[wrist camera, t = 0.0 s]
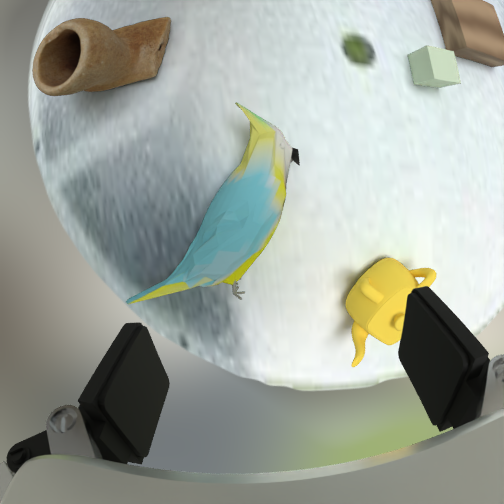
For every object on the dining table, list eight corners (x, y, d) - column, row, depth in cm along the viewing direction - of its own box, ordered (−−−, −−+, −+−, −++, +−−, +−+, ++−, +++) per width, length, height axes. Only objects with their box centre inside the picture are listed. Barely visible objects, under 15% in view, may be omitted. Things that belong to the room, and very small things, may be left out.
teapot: (403, 321, 46) (426, 356, 36) (337, 329, 47) (352, 370, 37) (415, 250, 41) (449, 277, 31) (343, 255, 42) (365, 287, 32)
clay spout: (81, 110, 34) (15, 106, 20) (85, 43, 30) (27, 19, 16) (172, 92, 34) (125, 69, 20) (174, 21, 29) (137, -27, 15)
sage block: (407, 54, 30) (426, 45, 24) (433, 59, 30) (453, 51, 24) (413, 84, 32) (434, 78, 26) (438, 87, 31) (460, 83, 26)
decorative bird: (326, 165, 37) (345, 172, 28) (214, 324, 46) (205, 361, 38) (240, 109, 35) (234, 98, 26) (141, 282, 44) (118, 312, 35)
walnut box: (428, -4, 25) (445, -16, 19) (475, 12, 24) (493, 5, 18) (446, 54, 29) (466, 47, 23) (491, 67, 28) (511, 63, 23)
